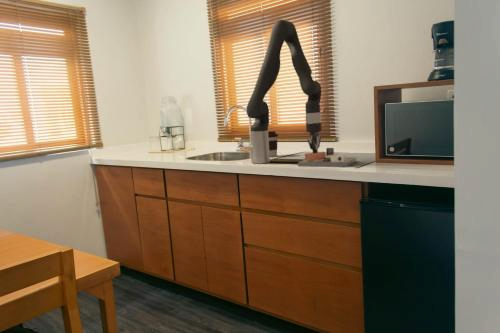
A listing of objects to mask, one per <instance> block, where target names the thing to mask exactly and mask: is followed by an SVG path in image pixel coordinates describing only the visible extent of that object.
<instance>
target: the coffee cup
mask: <svg viewBox="0 0 500 333" xmlns="http://www.w3.org/2000/svg"><path fill="white" fill-rule="evenodd" d="M278 137H279V134H278V133H276V131H271V130H270V131H269V130H268V139H269V155H270V158H276V157H277V156H278Z"/></svg>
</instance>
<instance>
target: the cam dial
mask: <svg viewBox="0 0 500 333" xmlns="http://www.w3.org/2000/svg"><path fill="white" fill-rule="evenodd" d="M331 155H340V154H339V153H338V152H337V153H336V152H335V149H334V147H326V151H318V152H316V153H313V152H307V153H304V160H305V161H313V160H322V159H327V160H329V159H331Z"/></svg>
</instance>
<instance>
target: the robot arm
mask: <svg viewBox="0 0 500 333" xmlns="http://www.w3.org/2000/svg"><path fill="white" fill-rule="evenodd" d="M284 42H285V44H286V45H287V47H288V49H289V51H290V55H291V63H292V65H293V68H294V71H295V73H296V75H297V77H298V82H299V85H300V89H301V91H302V92H303V94H305V95H306V96H307V101H306V102H305V128H306V129H305V131H306V133H308V134H309V136H308V137H309V139H307V143H308V146H309V149H310V150H312V153H316V152H319V151H318V150H319V149H320V146H321V140H322V138H321V136H320V134H319V132H322V131H323V128H322V127H323V126H322V115H321V114H322V113H321V97H322V87H321V83H320V82H319V81H317V80H314V79H313V77H312V73H313V72H312V68H311V66H310V64H309V62H308V60H307V58H306V55H305V54H304V51H303V48H302V45H301V41H300V39H299V35H298V32H297V28H296V25H295V24H294V23H293V22H291V21H289V20H284V19H279V20H277V21H275V22H274V24H273V26H272V29H271V33H270V38H269V42H268V46H267V50H266V53H265V55H264V59H263V61H262V64H261V67H260V70H259V74H258V77H257V81H256V82H255V86H254V88H253V91H252V93H251V96H250V98H249V101H248V103H247V106H246V115H247V116H248V118H249V119H254V123H253V124H252V125H251V126H250V136H251V137H250V138H251V145H250V158H251V164H267V163H270V162H271V161H270V160H271V157H270V155H269V139H268V132H269V124H270V110H269V109H270V108H269V106H268V104H267V102H266V101H264V99H265V96H266V95H267V93H268V92H269V91H270V89H272V87H273V85H274V84H275V83H276V81H277V80H278V76H279V73H280V70H281V51H282V48H283V44H284Z"/></svg>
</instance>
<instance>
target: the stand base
mask: <svg viewBox="0 0 500 333" xmlns="http://www.w3.org/2000/svg"><path fill="white" fill-rule="evenodd" d="M297 162H298V163H297V167H320V168H322V167H325V168H326V167H328V168H329V167H334V168H335V167H336V168H337V167H338V168H339V167H340V168H341V167H342V168H348V167H349V166H351V165H352V164H354V163H357V157H356V156H354V157H353V156H352V157H351V156H350V157H346V156H345V154H339V155H331V159H329V160H327V159H322V160H313V161H305V159H303V160H301V161H297Z"/></svg>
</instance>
